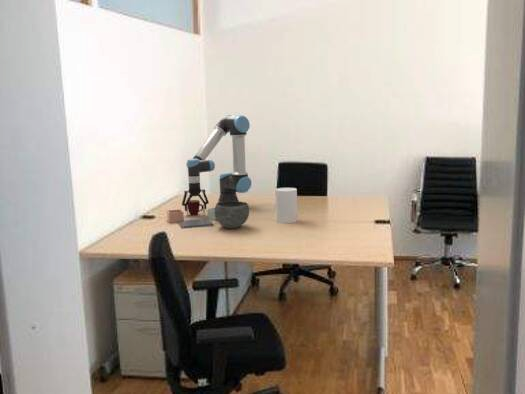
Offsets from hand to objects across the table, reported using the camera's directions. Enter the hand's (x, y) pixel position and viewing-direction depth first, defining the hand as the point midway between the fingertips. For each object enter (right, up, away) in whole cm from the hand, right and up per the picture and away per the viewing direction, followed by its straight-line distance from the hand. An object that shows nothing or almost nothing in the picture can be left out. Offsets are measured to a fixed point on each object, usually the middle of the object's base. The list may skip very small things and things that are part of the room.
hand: (195, 214), depth 389 cm
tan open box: (-11, -4, -18) cm, 21 cm away
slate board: (+2, -5, -26) cm, 27 cm away
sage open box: (+15, -3, -14) cm, 21 cm away
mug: (0, -1, 0) cm, 1 cm away
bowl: (+26, -7, -37) cm, 46 cm away
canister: (+60, -3, -22) cm, 64 cm away
